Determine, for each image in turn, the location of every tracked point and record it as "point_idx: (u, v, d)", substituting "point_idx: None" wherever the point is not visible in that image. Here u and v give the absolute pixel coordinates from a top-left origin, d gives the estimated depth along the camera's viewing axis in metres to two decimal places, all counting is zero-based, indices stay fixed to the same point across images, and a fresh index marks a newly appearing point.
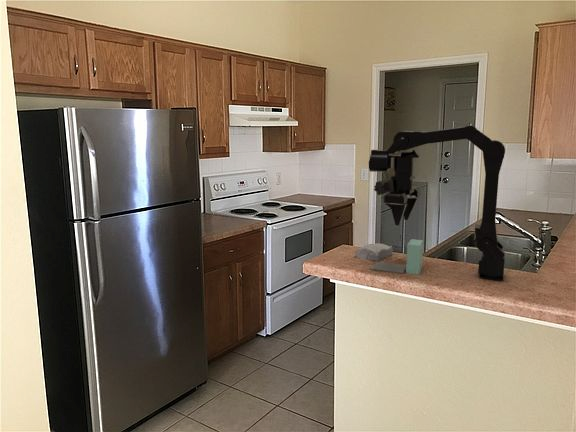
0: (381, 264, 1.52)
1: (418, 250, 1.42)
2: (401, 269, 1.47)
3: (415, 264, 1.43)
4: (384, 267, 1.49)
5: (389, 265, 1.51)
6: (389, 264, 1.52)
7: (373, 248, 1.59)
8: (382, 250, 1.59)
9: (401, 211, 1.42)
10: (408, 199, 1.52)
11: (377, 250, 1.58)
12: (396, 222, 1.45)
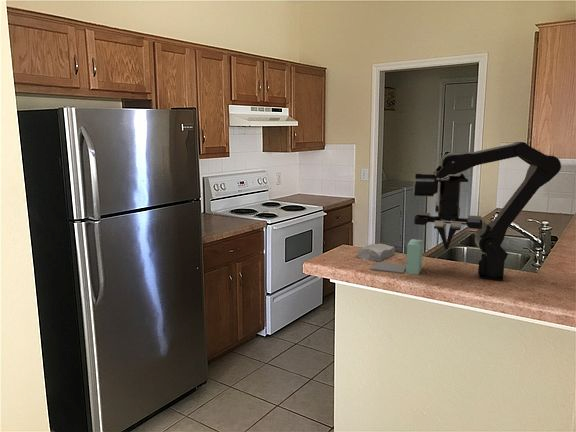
0: (381, 264, 1.52)
1: (418, 250, 1.42)
2: (401, 269, 1.47)
3: (415, 264, 1.43)
4: (384, 267, 1.49)
5: (389, 265, 1.51)
6: (389, 264, 1.52)
7: (375, 248, 1.58)
8: (384, 250, 1.59)
9: None
10: (450, 227, 1.41)
11: (379, 250, 1.57)
12: None
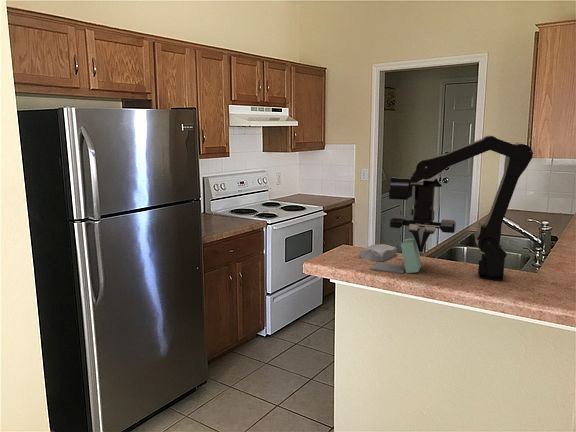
0: (381, 264, 1.52)
1: (412, 248, 1.43)
2: (401, 269, 1.47)
3: (413, 262, 1.44)
4: (384, 267, 1.49)
5: (389, 265, 1.51)
6: (389, 264, 1.52)
7: (378, 249, 1.58)
8: (387, 251, 1.58)
9: None
10: (424, 231, 1.44)
11: (382, 251, 1.57)
12: None
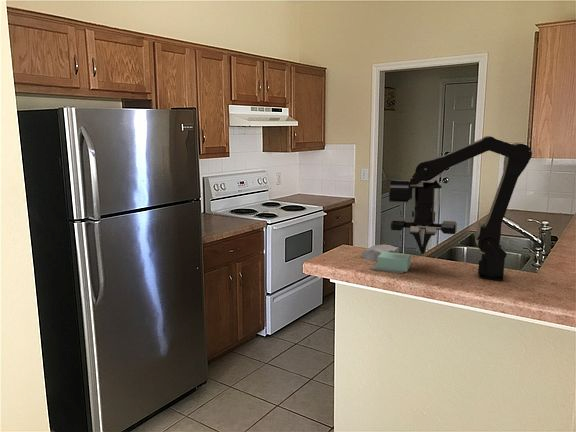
0: None
1: (382, 258, 1.47)
2: None
3: (397, 261, 1.46)
4: None
5: None
6: None
7: (380, 249, 1.57)
8: (389, 251, 1.58)
9: None
10: None
11: (384, 251, 1.56)
12: None
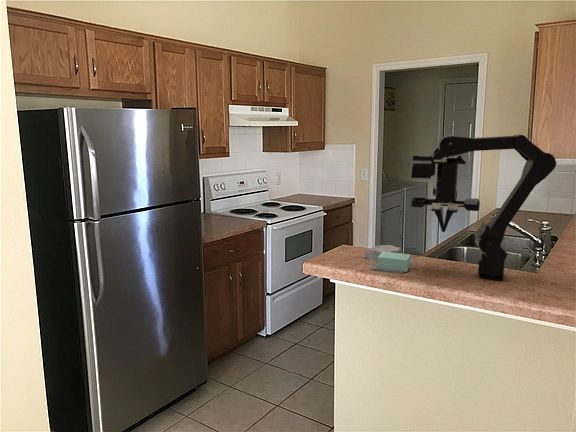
0: None
1: (382, 258, 1.47)
2: None
3: (397, 261, 1.46)
4: None
5: None
6: None
7: (383, 250, 1.57)
8: (392, 252, 1.57)
9: None
10: (447, 210, 1.40)
11: None
12: None
